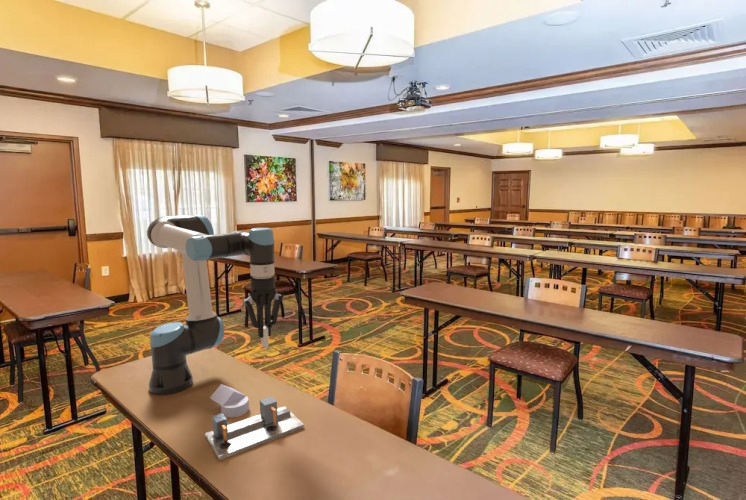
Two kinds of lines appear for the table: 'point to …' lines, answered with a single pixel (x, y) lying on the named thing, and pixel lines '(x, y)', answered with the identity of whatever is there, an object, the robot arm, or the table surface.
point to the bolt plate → (249, 432)
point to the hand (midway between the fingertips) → (264, 345)
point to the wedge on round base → (230, 401)
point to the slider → (269, 410)
